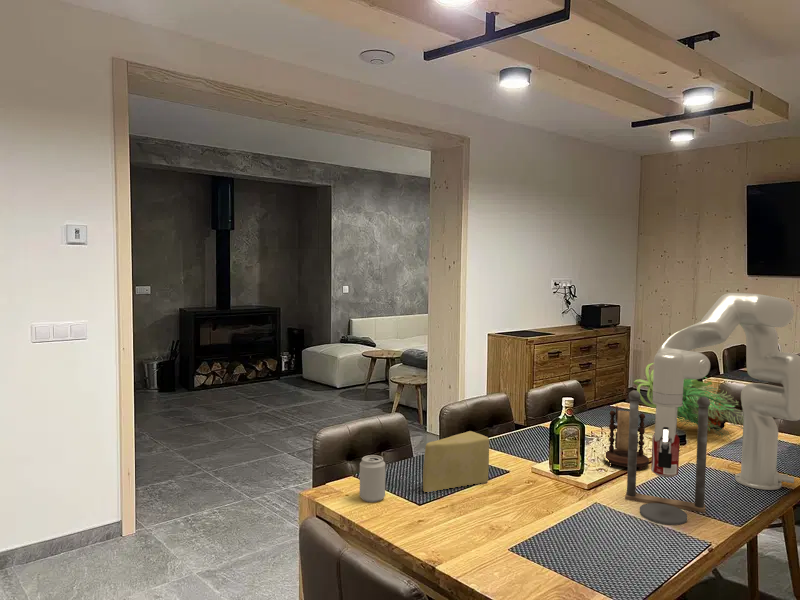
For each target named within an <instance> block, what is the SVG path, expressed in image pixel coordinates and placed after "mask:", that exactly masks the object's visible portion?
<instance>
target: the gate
mask: <svg viewBox="0 0 800 600" xmlns="http://www.w3.org/2000/svg"><path fill="white" fill-rule="evenodd" d="M640 394H641V392H640V393H639V392H638V391H637V389H636V390H635V389H633V390H631V391H629V393H628V398H629V411H630V413H629V443H628V467H627V472H626V473H627V474H626V476H627V477H626V478H627V479H626V492H625V495H624V500H627V501H632V502H637V503H644V504H648V503H660V504H666V505H671V506H674V507H677V508H679V509H681V510H684V511H685V510H686V511H692V512H693V511H694V512H698V513H702V514H703V513H704V514H705V513H706V504H705V497H706V496H705V495H706V493H705V492H706V471H707V470H706V469H707V468H706V467H707V446H708V428H707V427H708V407H709V405H711V404H710V399H708V398H707V397H700V398H699V399H698V401H697V404H698V406H699V411H698V425H697V435H696V436H697V437H696V438H697V441H696V460H695V462H696V463H695V465H696V466H695V483H694V484H695V485H694V486H695V490H694V491H695V492H694V502H691V501H684V500H678V499H672V498H668V497H667V498H665V497H662V496H661V497H660V496H655V495H654V496H653V495H648V494H641V493H637V492H636V491H637V489H636V488H637V487H636V486H637V467H636V466H637V452H638V450H637V437H638V438H639V434H638V433H639V432H638V428H639V415H638V413H639V410H638V408H639V409H640V405H639V402H640V400H641V399H640Z"/></svg>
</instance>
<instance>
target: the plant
mask: <svg viewBox="0 0 800 600" xmlns="http://www.w3.org/2000/svg"><path fill="white" fill-rule="evenodd" d="M652 365H654V362H652V363H648V364H647V365H646V367H645V376H646V378H647V380H645V379H640V378H639V379H635V380H634V381H633V382H632V383H633V384H634V385H636V386H637V387H636V388H637V389H636V391H638V392H639V393H640V399H639V400H640V401H641V403H643V404H644V405H646V407H644V408H646V409H647V410H648V411H652V412H654V413H656V410H654V409H656V404H653V403H652V401H653V373H654V368H653V369H652V370H651V373H649V369H650V367H651V366H652ZM707 375H709V373H708V374H707ZM707 375H706V376H707ZM706 376H705V377H703V378H701V379H702V380H704V381H705V382H704V381H700V380H699V379H684V382H683V406H681V407H678V410H677V423H679V422H680V423H684V424H683V425H682V427H684V426H686V425H687V423H688V425H689V426H688V427H687V429H689V428H690V427H692V426H693V427H695V426H698V411H699V406H698V404H697V401H698V399H699V398H700V397H707V398H708V399H709V400H710V405H709V407H708V427H707V429H708V431H709V432H710V433H711V430H713V432H714V434H717V435H718V437H720V435H721V439H725V437H726V438H727V439H728V440H729V441H732V440H731V439H730V438H729V437H728V436H730V437H732V435H731V434H729V431H727V430H724V428H725V426H726V425H725V424H726V423H727V422H729V423H731V425H732V426H737V427H738V428H740V429H742V430H743V415H740V414H741V412H742V410H740V409H736V408H735V407H736V406H738V407H740V406H741V407H742V404H741V405H740V404H739V401H737V400H735V401H734V400H733V397H732V396H731V395H732V394H729V395H727V393H728V392H727V390H726V392H725V393H724V390H722V392H718V391H717V390H721V389H720V388H717V387H714V386H711V385H713V380H711V379H710V381H709V380H708V381H707V379H708V377H706ZM704 378H705V379H704ZM641 387H646V388H647V392H646V395H645V396H646V398H647V399H648V401H649V402H650V403H649V402H648V401H646V400H645V398H644V396H642V394H641ZM729 401H730V402H729ZM647 406H648V408H647ZM649 407H650V408H649ZM651 408H654V409H651ZM731 413H732V414H734V415H736V416H733V415H732V414H731ZM643 414H644V415H645V416H646V413H643ZM649 416H650V417H653V415H649ZM738 417H739V418H738ZM648 420H651V421H652V420H653V421H654V418H649V419H648ZM736 420H737V421H736ZM737 422H738V423H737ZM727 435H728V436H727ZM724 436H725V437H724Z"/></svg>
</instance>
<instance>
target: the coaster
mask: <svg viewBox="0 0 800 600" xmlns="http://www.w3.org/2000/svg"><path fill="white" fill-rule="evenodd" d="M639 514H640V516H641V517H642V518H644V519H645V520H648V521H649V522H653V523H656V524H661V525H667V526H677V525H678V526H679V525H684V524H685V523H687V521H688V513H687V512H685V510H684V509H679V508H677V507H674V506H671V505H666V504H660V503H644V504H642V505H640V507H639Z"/></svg>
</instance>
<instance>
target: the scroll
mask: <svg viewBox="0 0 800 600" xmlns="http://www.w3.org/2000/svg"><path fill="white" fill-rule="evenodd" d="M639 409H640V407H639V408H638V411H639ZM629 413H630V410H629V411H628V410H620V409H619V410H618V405H616V406H615V411H614V410H610V411H609V415H610V416H609V418H610V420H609V425H608V428H609V431H610V432H609V437H608V441H609V443H608V444H609V447H608V450H609V451H608V450H606V451H607V452H606V451H605V452H606V458H607V459H608V460H609V462H608V464H609V463H612V465H616V466H620V467H626V468H628V443H629ZM644 414H645V413H639V412H638V419H639V421H640V422H639V426H638V433H639V434H638V437H637V466H636V468H638V470H639V471H641V470H642V469H643V467H646V466H648V465H649V463H650V458H649V457H648V456H646V455H645V454H644V453H645V452H644V445H645V441H644V438H645V437H644V435H645V431H646V430H645V421H646V414H645V415H644ZM615 422H616V425H615ZM615 430H616V432H614V431H615Z"/></svg>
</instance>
